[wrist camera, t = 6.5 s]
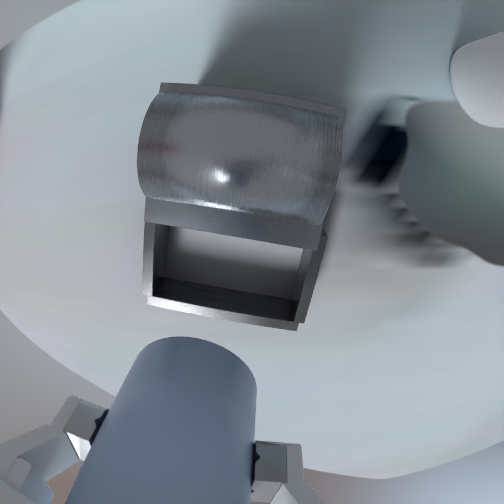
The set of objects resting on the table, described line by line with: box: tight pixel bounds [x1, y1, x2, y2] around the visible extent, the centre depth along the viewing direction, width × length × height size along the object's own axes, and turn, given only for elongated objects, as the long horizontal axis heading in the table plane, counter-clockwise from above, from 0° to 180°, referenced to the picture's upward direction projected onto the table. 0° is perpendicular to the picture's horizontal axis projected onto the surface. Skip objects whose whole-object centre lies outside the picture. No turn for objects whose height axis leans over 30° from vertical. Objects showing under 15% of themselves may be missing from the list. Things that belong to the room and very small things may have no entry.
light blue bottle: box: [65, 337, 257, 504], centre depth 7 cm, size 5×5×9 cm
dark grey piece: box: [137, 83, 346, 331], centre depth 19 cm, size 13×16×10 cm
